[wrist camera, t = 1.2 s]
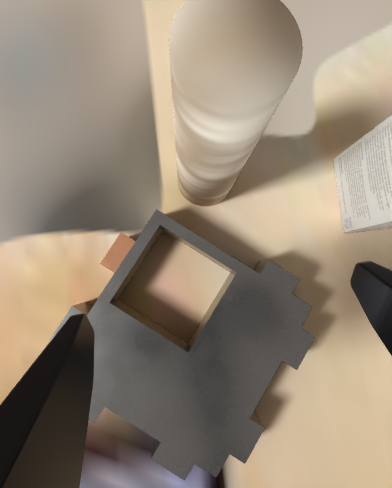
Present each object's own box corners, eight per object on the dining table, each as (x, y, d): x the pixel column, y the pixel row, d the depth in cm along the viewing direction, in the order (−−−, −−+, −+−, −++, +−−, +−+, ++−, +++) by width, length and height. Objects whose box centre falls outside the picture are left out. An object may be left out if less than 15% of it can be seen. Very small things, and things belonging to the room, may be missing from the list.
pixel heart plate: (318, 297, 23) (334, 301, 20) (217, 477, 21) (222, 504, 19) (154, 195, 23) (151, 186, 20) (42, 365, 21) (24, 378, 19)
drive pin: (241, 172, 23) (326, 27, 10) (213, 216, 23) (259, 133, 9) (196, 143, 24) (214, -41, 10) (167, 187, 23) (142, 61, 9)
